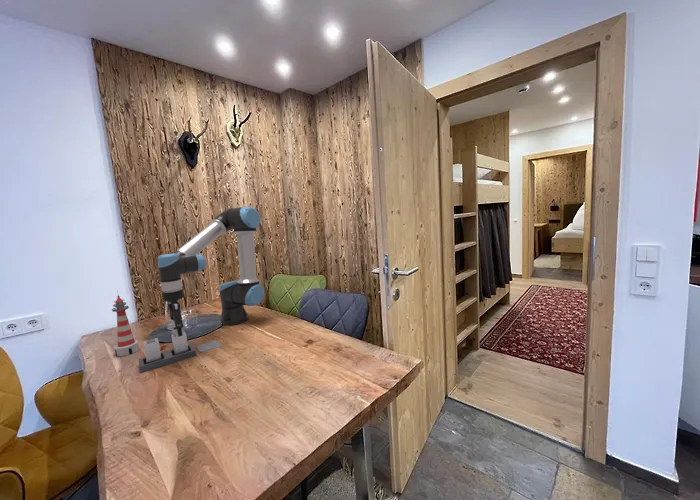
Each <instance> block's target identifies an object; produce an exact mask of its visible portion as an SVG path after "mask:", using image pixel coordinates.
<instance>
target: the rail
mask: <svg viewBox="0 0 700 500" xmlns="http://www.w3.org/2000/svg"><path fill="white" fill-rule="evenodd" d="M160 353H161V360H158V361H155V362H152V363H148V364H147V362H146V356H145V357H141V358H138V367H139V373H140V374H142V373H145V372H146V373H147V372H148V371H152V370H156V369H158V368H162V367H165V366H167V365H172V364H175V363H178V362H181V361H185V360H188V359H191V358H193V357H197V350H196V348H195V347H194V345H193V343H190V344H188V352H185V353H182V354H178V355H175V356H174V349H173V348H172V349H170V350H169V349H168V350H165V351H162V352H160Z"/></svg>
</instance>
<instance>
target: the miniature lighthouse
mask: <svg viewBox="0 0 700 500" xmlns="http://www.w3.org/2000/svg"><path fill="white" fill-rule="evenodd" d="M118 290H119V289H117V293H119V291H118ZM116 297H117V298H116V300H114V301H113V303H114V304H112V306H113V308H112V309H111V311H112V312H114V313H115V312H116V328H117V332H116V333H117V337H116V338H117V344H114V346H113V350H114V352H115V356H116V357H125V356H129V355H133V354H134V353H136V352H138V351H139V341H138V339H135V337H134V334H133V331H132V327H131V325H130V322H129V319H128V316H127V313H126V310H128V309H129V307H130V306H129V305H127V302H126V301H125V299H122V298H121V297H120V295H119V294H117V296H116Z"/></svg>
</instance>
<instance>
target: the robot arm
mask: <svg viewBox="0 0 700 500" xmlns="http://www.w3.org/2000/svg"><path fill="white" fill-rule="evenodd" d="M260 224H261V216H260V213H259V211H257V209H256V208H255V207H252V206H241V207H240V206H239V207H231V208H228V209H226V210H224V211H222V212H221V213H219V214H218V215H216V216H215V217H214V218H213V219H212V220H210V223H209V224H208V225H207V226H206V227H204V228H203V229H202V230H200V232H198V233H197V234H196V235H194V236H193V237H191V238H190V239H189V240H188V241H186V243H185V244H183V245H182V246H180V247H179V248H178V249H177V250H175V251H174V252H173V253H167V254H161V255H158V257H157V267H158V275H159V279H160V284H159V285H158V286H159V287H160V288H161V291H162V293H161V297H162V301H163V302H168V304H167V305H168V306H167V307H168V310H169V318H170V324H171V331H172V334H174V333H176V339H177V344H181V343H184V342H185V340H184V332H183V331H184V323H183V318H182V313H181V303H180V302H179V301H178V300H182V299H183V298H184V292H183V291H184V290H183V282H182V275H184V274H185V275H186V274H190V273H195V272H200V271H203V270H204V269H206V266H207V260H206V257H204V255H202V254H199V253H201V252H202V251H203V250H204V249H205V248H207V247H208V246H209V245H210V244H211V243H212V242H213V241H215V240H216V239H217V238H218V237H219V236H221V235H225V234H226V233H227V232H229V231H231V230H233V233H234V234H235V235H236V236H237V237H236V238H237V253H238V271H239V273H238V274H239V279H238V280H237V279H236V280H231V281H227V282H224V283H221V284H220V285H219V297H220V304H221V314H220V317H219V318H220V319H219V324H220V323H222V324H223V325H222V326H234V325H238V324H242V323H244V322H246V321H248V320H249V314H248V312H247V310H246V308H245V306H246V307H247V306H248V307H251V306H252V307H253V306H254V307H255V306H257V305H260V303H261V302H262V300H263V299H264V296H265V288H264V287H263V286H262V285H261V284H260V279H258V278H257V270H256V269H257V265H256V249H255V234H257V231H258V230H257V228H258V227H259V226H260Z"/></svg>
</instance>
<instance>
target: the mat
mask: <svg viewBox="0 0 700 500" xmlns="http://www.w3.org/2000/svg"><path fill="white" fill-rule="evenodd" d="M220 347H223V345H222V344H221V343H220V342H219V340H218V339H215V340H211V341H209V342H206V343H201V344H198V345H196V348H197V349H198V351H199V353H204V352H207V351H211V350H213V349H214V350H215V349H217V348H220Z"/></svg>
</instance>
